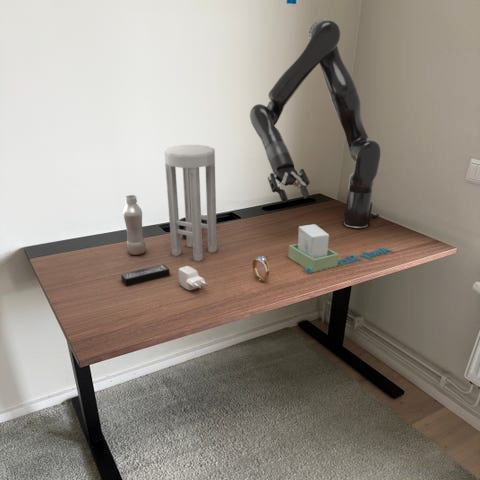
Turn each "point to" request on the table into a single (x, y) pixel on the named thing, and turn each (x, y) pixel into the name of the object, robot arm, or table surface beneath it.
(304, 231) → the cosmetics box
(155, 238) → the table surface
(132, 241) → the plastic bottle
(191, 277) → the power adapter
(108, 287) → the table surface
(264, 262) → the ring
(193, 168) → the stool
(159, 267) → the multiport hub
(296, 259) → the holder
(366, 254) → the nameplate
